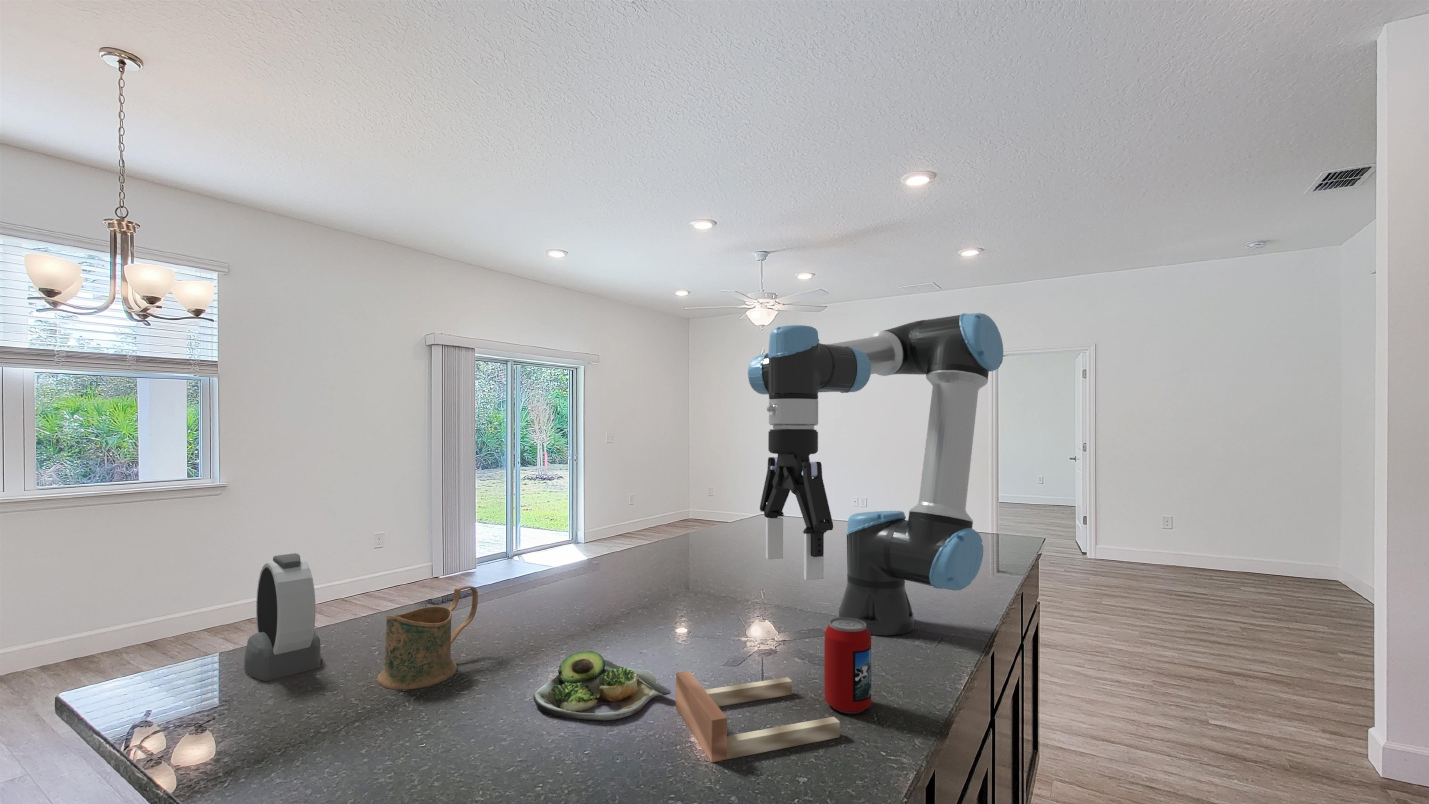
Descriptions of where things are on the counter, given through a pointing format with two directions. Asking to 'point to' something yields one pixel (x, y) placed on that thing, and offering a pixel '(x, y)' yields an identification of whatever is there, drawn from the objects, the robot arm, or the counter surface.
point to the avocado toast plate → (596, 688)
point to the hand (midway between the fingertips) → (792, 568)
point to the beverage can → (847, 665)
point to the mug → (422, 645)
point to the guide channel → (713, 739)
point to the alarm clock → (284, 621)
